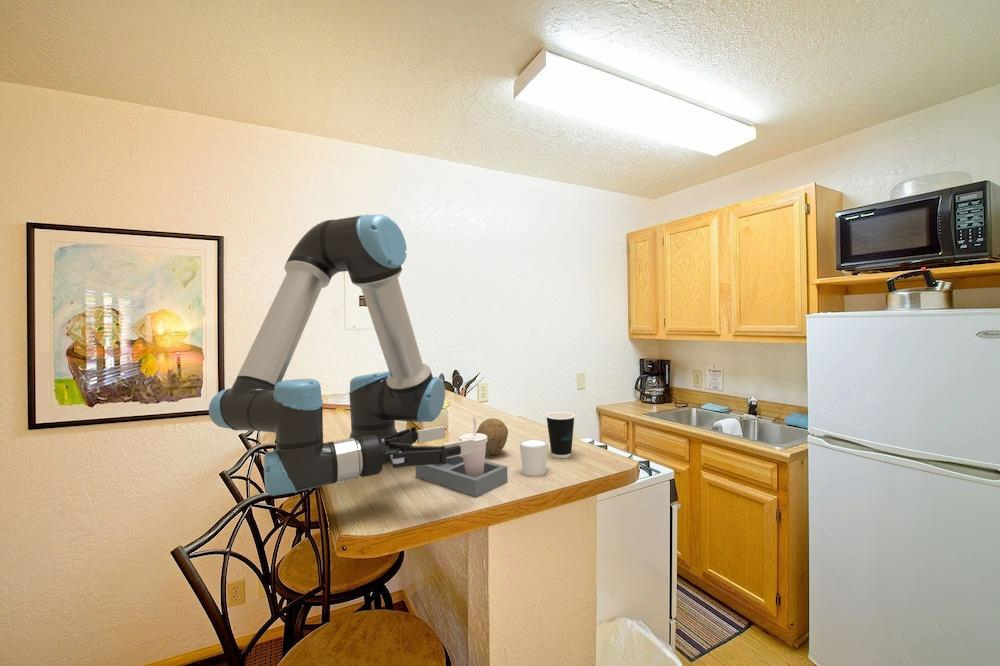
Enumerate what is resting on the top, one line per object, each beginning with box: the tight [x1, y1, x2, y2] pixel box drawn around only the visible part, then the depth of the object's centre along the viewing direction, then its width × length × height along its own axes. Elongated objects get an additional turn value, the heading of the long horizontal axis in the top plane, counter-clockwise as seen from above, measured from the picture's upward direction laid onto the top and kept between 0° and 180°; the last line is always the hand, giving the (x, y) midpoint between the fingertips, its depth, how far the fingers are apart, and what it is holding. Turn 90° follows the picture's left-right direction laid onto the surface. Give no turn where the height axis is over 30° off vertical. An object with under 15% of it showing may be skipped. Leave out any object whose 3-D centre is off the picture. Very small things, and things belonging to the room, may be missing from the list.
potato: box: [476, 417, 509, 456], centre depth 113 cm, size 9×9×10 cm
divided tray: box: [415, 455, 508, 498], centre depth 95 cm, size 20×10×4 cm, turn 50°
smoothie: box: [458, 416, 488, 478], centre depth 92 cm, size 6×6×14 cm
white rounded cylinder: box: [519, 439, 549, 477], centre depth 99 cm, size 7×7×7 cm
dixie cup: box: [545, 411, 576, 459], centre depth 110 cm, size 8×8×11 cm
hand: (457, 438), depth 90 cm, fingers open, 13 cm apart
